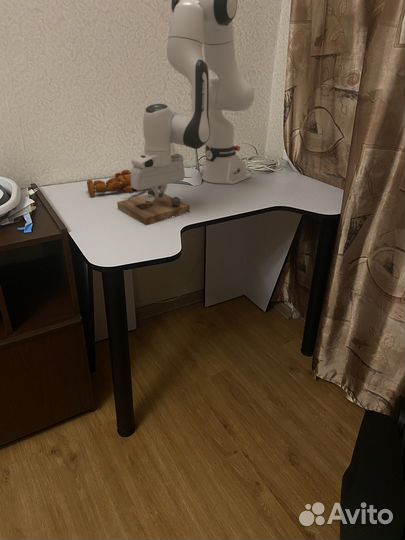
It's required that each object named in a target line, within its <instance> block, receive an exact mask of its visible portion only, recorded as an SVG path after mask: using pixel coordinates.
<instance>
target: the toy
mask: <svg viewBox="0 0 405 540" xmlns="http://www.w3.org/2000/svg"><path fill="white" fill-rule="evenodd" d="M86 181H87V182H86V188H87V191H88V194H89V196H90V198H91V199H93V198H95V195H96V192H98V193H101V194H105V193H108V192H109V193H110V192H112V193H113V192H116V191H119V190H122V189H123V190H124V192H125V193H126V194H133V190H135V189H134V188H133V187H132V186H131V170H129V169H124V170H122V171H121V172H116V173H115V174H114V177H111V178H109V179H107V181H106V182H105V181H104V180H99V179H98V180H94V181H93V180H92V179H88V180H86Z"/></svg>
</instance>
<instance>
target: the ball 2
mask: <svg viewBox="0 0 405 540" xmlns="http://www.w3.org/2000/svg"><path fill="white" fill-rule="evenodd" d="M180 202H182V201H181V199H180V197H177V196H174V197H173V196H172V200H171V203H172V205H173V206H178V205H180Z"/></svg>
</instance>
